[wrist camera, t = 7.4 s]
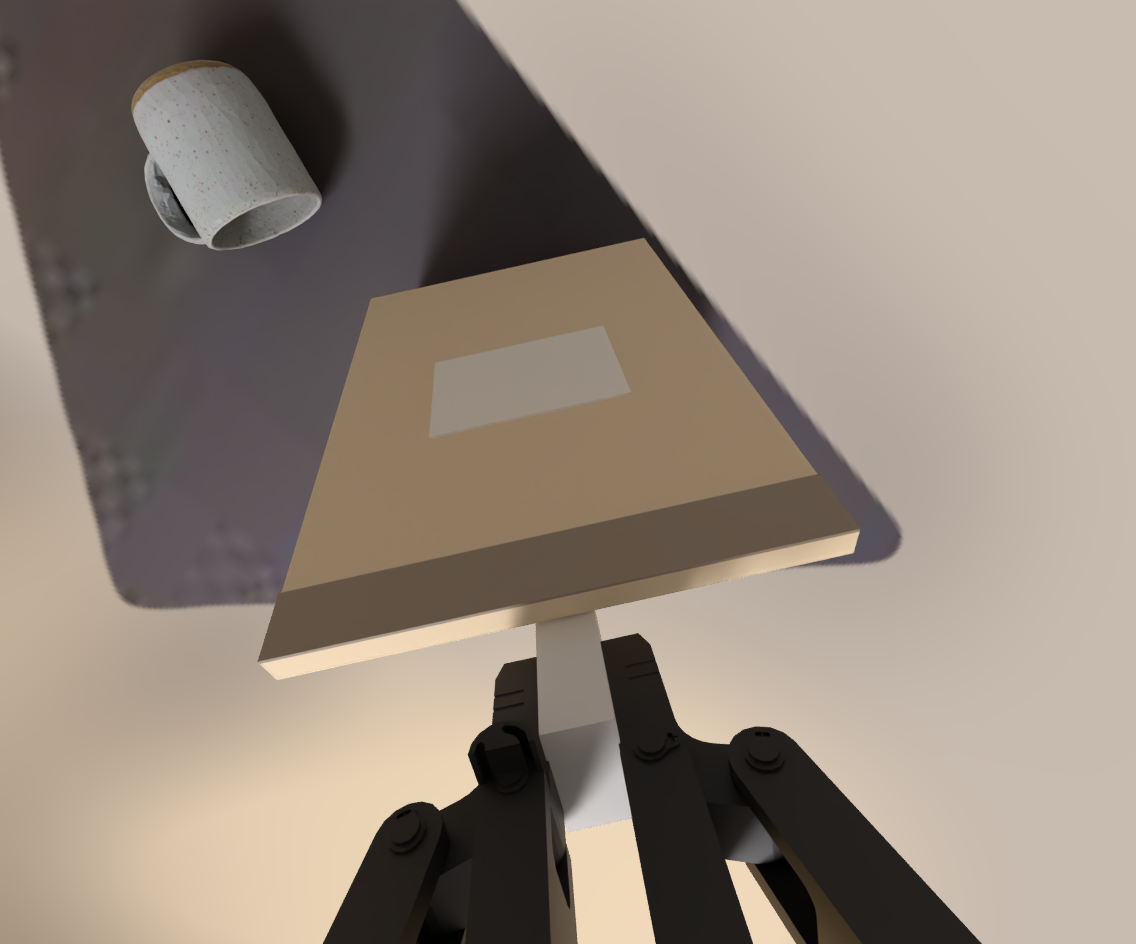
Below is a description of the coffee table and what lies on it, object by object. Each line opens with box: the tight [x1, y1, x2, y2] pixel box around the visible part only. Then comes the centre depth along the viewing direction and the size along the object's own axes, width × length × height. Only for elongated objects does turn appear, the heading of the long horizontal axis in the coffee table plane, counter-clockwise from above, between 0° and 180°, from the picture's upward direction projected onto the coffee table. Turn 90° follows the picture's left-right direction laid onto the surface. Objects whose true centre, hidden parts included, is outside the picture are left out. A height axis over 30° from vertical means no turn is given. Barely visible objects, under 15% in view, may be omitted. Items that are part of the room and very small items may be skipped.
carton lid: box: [258, 238, 860, 680], centre depth 21 cm, size 21×15×1 cm
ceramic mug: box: [131, 60, 322, 250], centre depth 34 cm, size 11×8×8 cm
